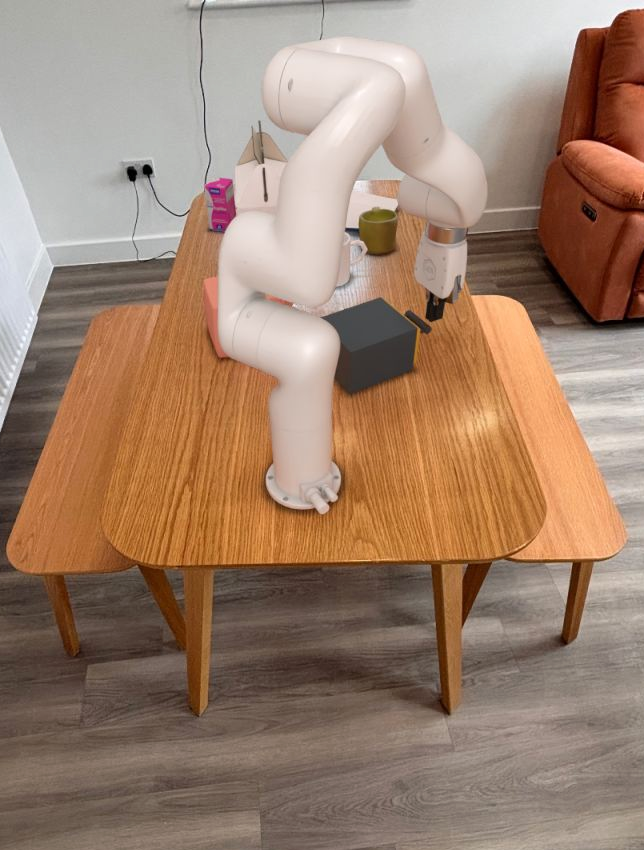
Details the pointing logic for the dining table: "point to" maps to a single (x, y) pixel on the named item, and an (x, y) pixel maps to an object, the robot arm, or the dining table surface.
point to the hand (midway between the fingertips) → (433, 318)
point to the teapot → (212, 310)
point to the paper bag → (259, 174)
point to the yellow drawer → (418, 323)
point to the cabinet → (372, 344)
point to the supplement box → (220, 203)
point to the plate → (365, 207)
